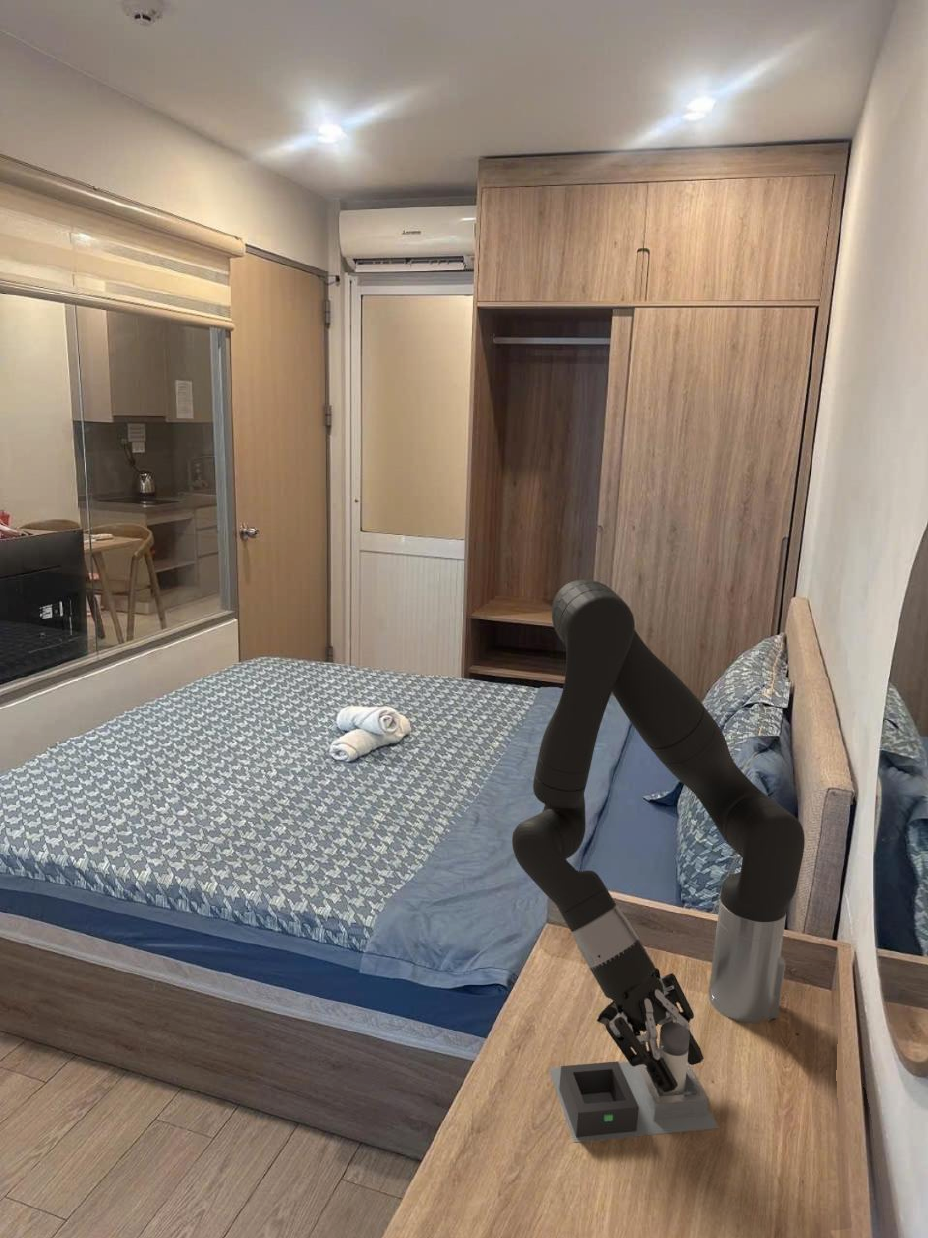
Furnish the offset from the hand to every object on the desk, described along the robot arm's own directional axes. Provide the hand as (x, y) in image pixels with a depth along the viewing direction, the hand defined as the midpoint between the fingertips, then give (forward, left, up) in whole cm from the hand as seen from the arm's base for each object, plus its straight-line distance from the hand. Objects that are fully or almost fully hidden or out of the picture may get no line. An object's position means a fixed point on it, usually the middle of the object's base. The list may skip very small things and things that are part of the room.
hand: (684, 1075), depth 108 cm
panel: (+6, -2, -5) cm, 8 cm away
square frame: (+1, -1, -4) cm, 5 cm away
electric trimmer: (0, -20, -6) cm, 21 cm away
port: (+11, 0, -4) cm, 12 cm away
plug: (+1, -1, -4) cm, 5 cm away
